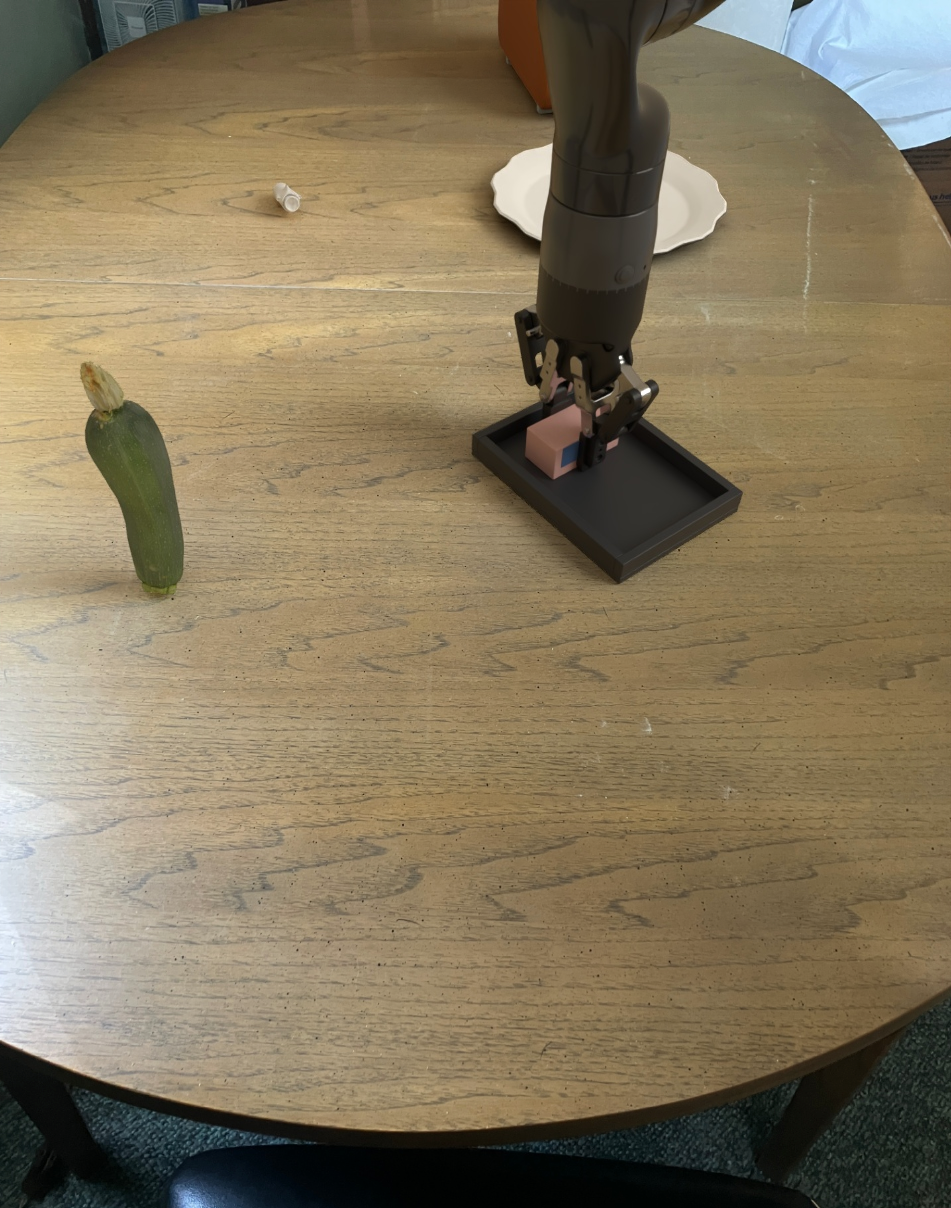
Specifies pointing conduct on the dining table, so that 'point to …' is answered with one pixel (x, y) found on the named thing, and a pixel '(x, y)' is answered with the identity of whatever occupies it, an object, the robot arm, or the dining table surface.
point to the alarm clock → (524, 48)
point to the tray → (614, 492)
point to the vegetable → (136, 479)
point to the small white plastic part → (286, 197)
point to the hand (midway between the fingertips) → (571, 450)
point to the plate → (681, 208)
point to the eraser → (557, 442)
